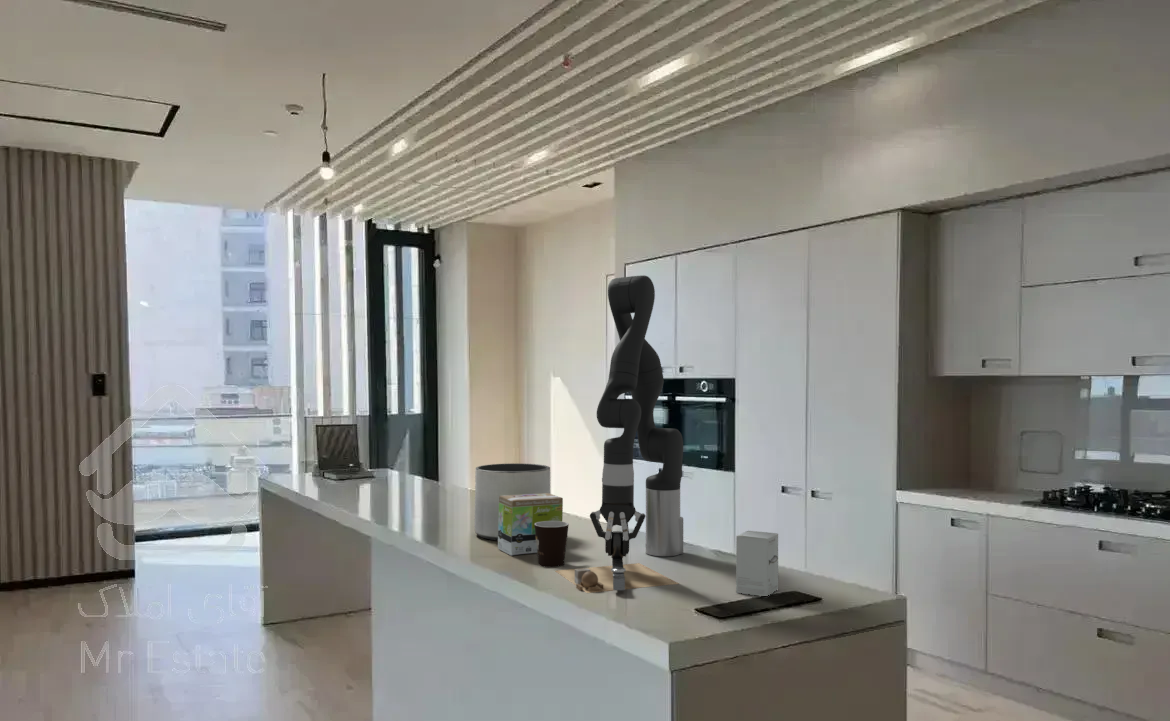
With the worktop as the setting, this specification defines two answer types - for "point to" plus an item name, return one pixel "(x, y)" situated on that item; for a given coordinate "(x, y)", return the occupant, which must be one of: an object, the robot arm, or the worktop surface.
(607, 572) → the press base
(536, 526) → the coffee mug
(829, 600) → the worktop surface
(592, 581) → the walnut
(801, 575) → the worktop surface
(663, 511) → the robot arm
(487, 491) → the planter
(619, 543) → the lever
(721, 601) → the worktop surface
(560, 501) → the tea box
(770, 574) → the supplement box
